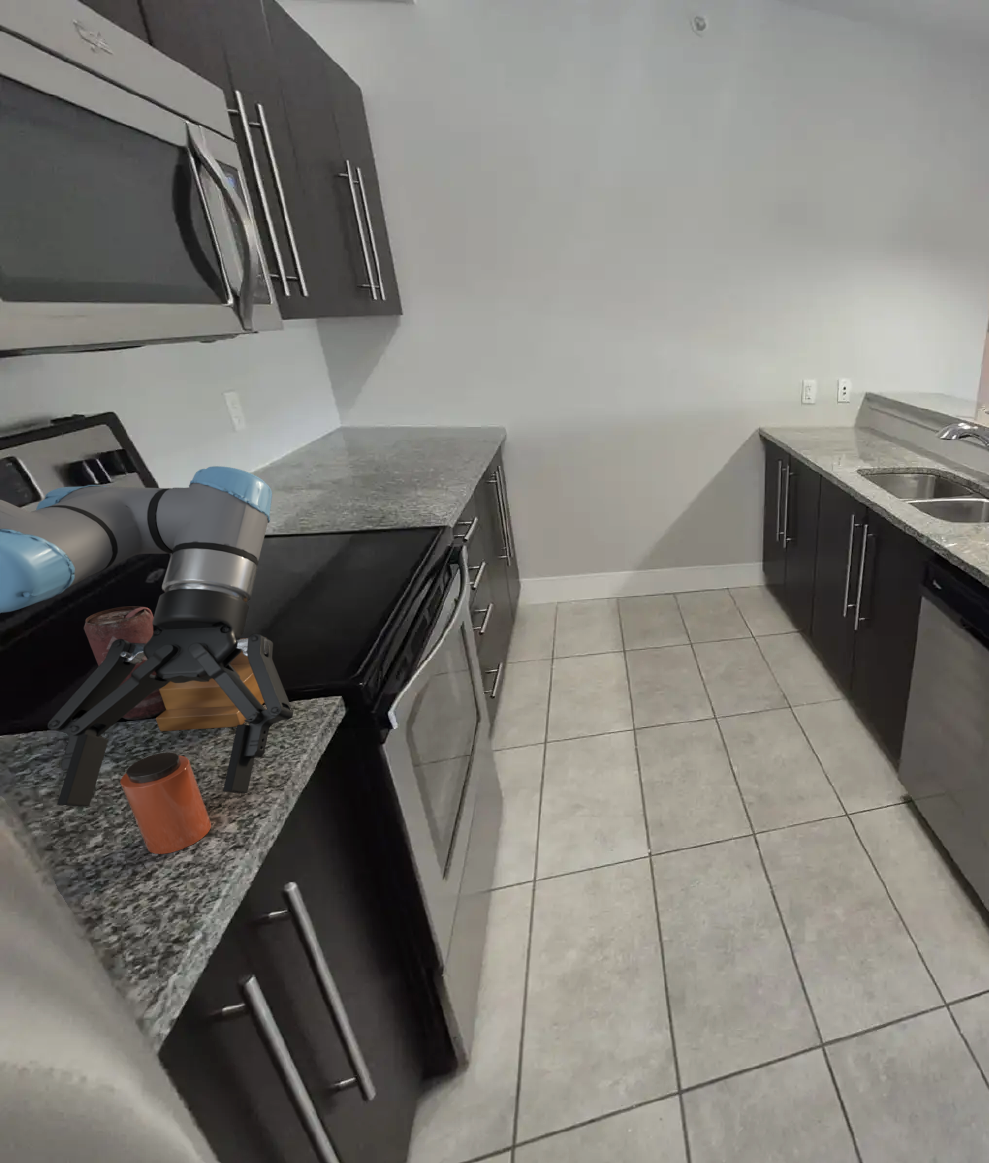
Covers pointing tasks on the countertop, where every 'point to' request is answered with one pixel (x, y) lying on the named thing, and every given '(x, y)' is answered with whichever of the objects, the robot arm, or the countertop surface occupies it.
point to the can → (134, 629)
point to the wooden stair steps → (205, 702)
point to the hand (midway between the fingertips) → (156, 799)
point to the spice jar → (166, 802)
